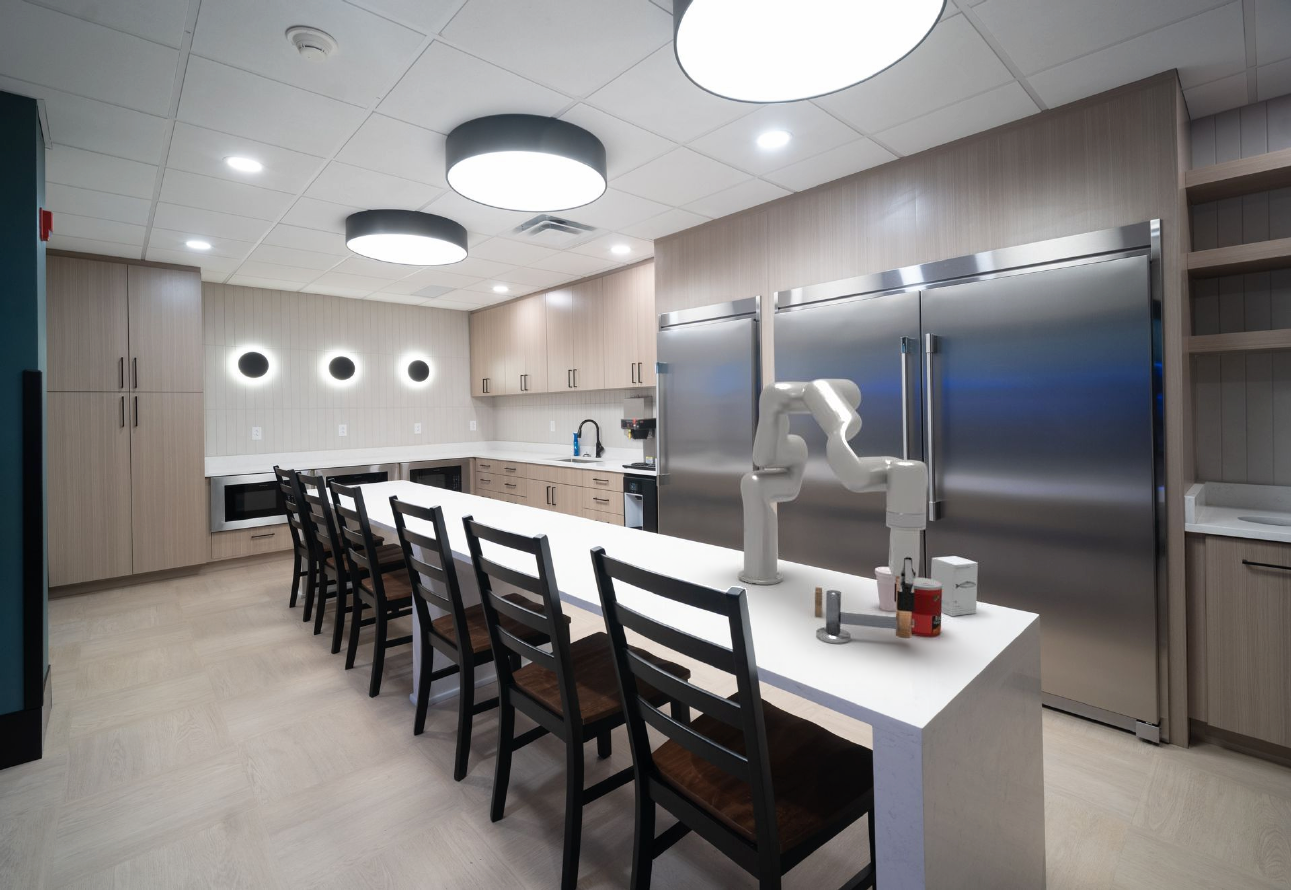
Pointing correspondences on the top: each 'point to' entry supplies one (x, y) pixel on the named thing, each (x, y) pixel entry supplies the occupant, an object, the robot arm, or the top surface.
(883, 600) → the smoothie
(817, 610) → the brown wooden block
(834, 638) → the pivot base
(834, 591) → the double handled crank lever
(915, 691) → the top surface
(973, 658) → the top surface
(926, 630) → the canned food
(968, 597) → the supplement box
